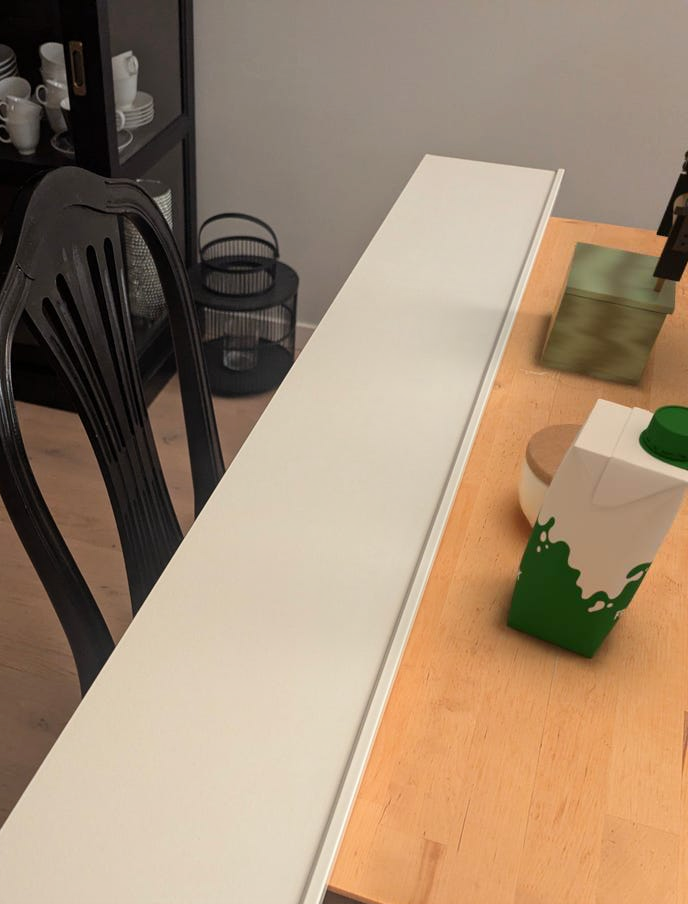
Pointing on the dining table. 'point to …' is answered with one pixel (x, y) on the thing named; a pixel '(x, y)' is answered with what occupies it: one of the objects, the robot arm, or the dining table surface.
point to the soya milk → (601, 524)
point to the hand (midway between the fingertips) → (667, 256)
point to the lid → (621, 276)
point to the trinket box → (543, 465)
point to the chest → (600, 337)
